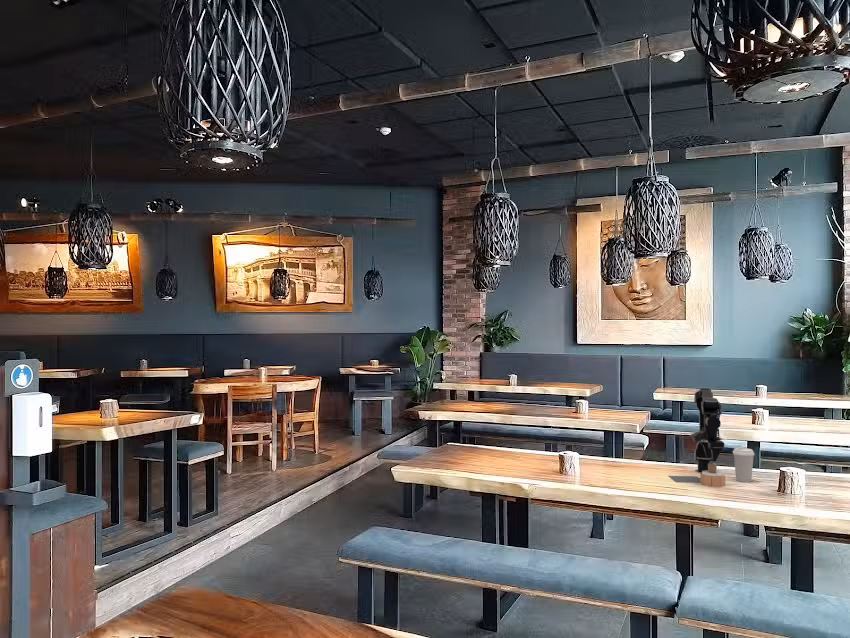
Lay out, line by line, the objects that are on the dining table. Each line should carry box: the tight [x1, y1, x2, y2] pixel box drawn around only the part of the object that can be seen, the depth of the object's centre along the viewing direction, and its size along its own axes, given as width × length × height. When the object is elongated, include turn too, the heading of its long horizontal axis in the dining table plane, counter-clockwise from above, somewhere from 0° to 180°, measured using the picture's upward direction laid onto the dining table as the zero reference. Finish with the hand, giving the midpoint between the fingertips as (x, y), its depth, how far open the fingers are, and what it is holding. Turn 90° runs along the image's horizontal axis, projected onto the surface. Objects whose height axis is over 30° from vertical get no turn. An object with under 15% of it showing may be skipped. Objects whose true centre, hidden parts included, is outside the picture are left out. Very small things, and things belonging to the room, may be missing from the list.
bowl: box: [699, 473, 726, 488], centre depth 300 cm, size 10×10×5 cm
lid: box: [702, 462, 724, 477], centre depth 300 cm, size 9×9×5 cm
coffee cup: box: [732, 447, 755, 483], centre depth 309 cm, size 10×10×15 cm
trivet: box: [667, 475, 701, 484], centre depth 310 cm, size 14×14×1 cm
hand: (710, 459), depth 303 cm, fingers open, 9 cm apart
